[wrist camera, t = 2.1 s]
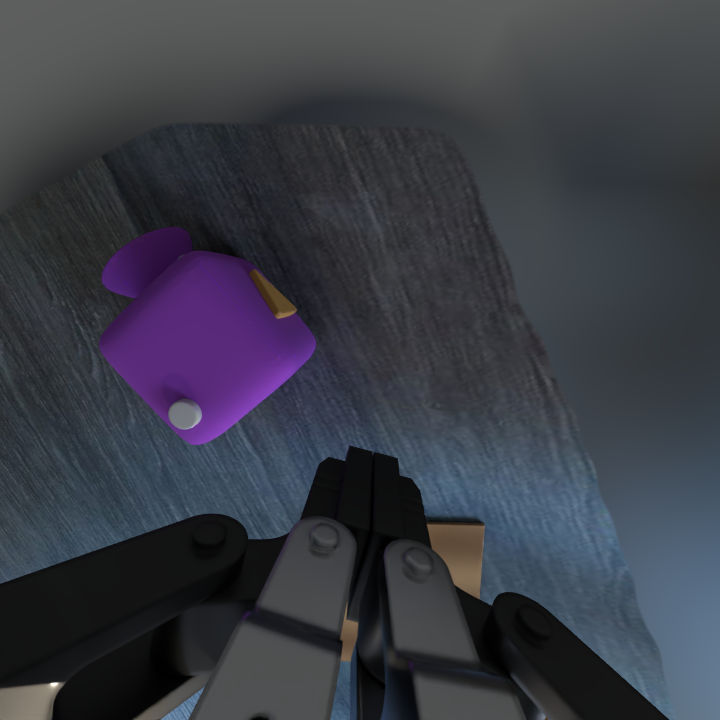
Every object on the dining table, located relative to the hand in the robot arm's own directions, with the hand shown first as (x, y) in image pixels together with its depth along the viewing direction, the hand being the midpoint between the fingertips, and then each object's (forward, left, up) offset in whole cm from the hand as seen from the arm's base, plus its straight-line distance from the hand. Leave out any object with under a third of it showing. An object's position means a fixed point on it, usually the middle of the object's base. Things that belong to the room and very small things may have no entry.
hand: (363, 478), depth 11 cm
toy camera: (0, -12, -19) cm, 22 cm away
